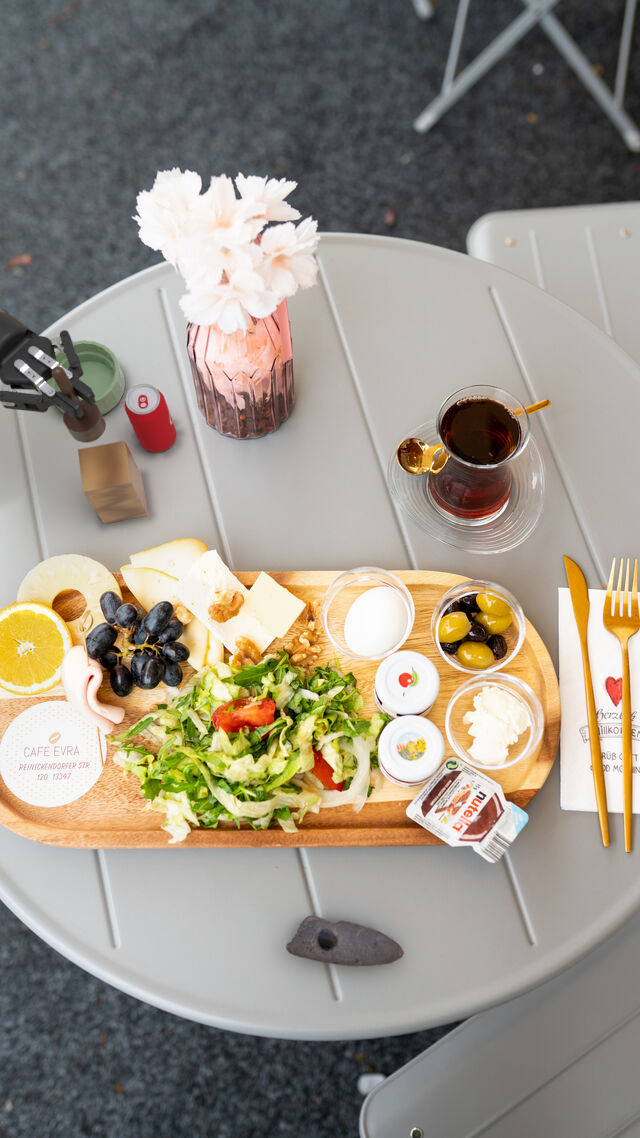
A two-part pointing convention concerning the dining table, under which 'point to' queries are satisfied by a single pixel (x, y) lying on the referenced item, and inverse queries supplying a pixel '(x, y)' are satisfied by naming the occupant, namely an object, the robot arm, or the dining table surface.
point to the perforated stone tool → (343, 943)
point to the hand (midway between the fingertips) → (86, 406)
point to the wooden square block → (112, 482)
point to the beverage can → (150, 418)
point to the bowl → (96, 373)
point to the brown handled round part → (92, 419)
